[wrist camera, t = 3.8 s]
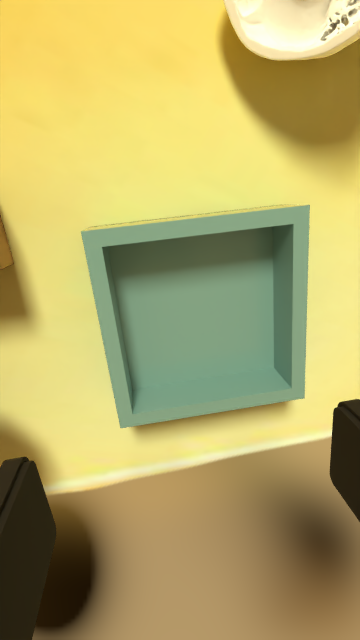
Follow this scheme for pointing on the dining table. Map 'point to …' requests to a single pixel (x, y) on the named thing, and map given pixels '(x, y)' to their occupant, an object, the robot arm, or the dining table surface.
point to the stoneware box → (202, 310)
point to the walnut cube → (4, 248)
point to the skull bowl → (295, 26)
